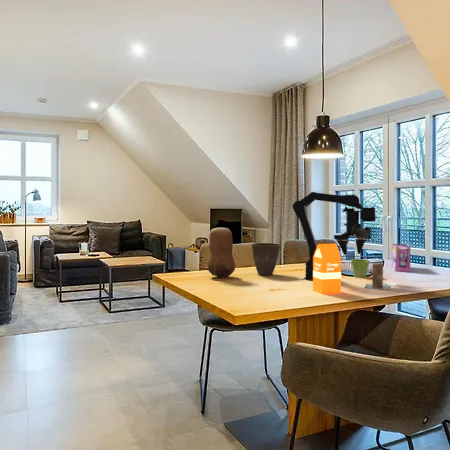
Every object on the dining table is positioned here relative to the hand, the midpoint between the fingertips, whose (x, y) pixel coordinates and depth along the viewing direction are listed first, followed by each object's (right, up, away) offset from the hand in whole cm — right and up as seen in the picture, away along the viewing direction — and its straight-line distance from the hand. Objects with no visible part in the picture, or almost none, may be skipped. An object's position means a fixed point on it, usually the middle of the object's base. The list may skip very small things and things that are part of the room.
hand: (352, 254), depth 208 cm
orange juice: (-18, -14, -25) cm, 34 cm away
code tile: (+13, -13, -7) cm, 20 cm away
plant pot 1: (-39, -12, +22) cm, 46 cm away
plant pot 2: (+8, -13, +14) cm, 21 cm away
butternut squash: (-62, -13, +12) cm, 65 cm away
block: (+7, -13, -15) cm, 21 cm away
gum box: (+41, -12, +46) cm, 63 cm away
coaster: (+7, -14, -15) cm, 22 cm away
